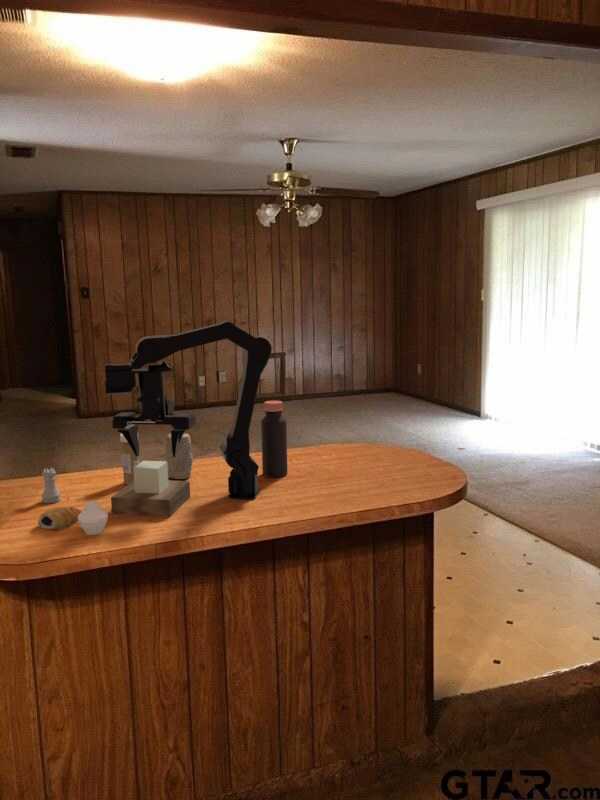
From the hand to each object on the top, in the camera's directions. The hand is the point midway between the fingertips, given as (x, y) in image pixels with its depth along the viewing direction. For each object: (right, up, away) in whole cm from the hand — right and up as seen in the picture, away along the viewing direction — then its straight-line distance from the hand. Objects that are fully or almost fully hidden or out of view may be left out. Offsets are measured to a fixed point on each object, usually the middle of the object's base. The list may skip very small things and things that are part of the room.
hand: (156, 456), depth 159 cm
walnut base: (-1, -12, +1) cm, 12 cm away
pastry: (-19, -15, -9) cm, 26 cm away
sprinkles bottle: (-10, -9, +19) cm, 23 cm away
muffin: (-10, -15, -15) cm, 24 cm away
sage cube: (-1, -8, +1) cm, 8 cm away
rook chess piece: (-27, -12, +6) cm, 30 cm away
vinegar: (+27, -7, +25) cm, 37 cm away
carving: (+1, -8, +23) cm, 24 cm away
